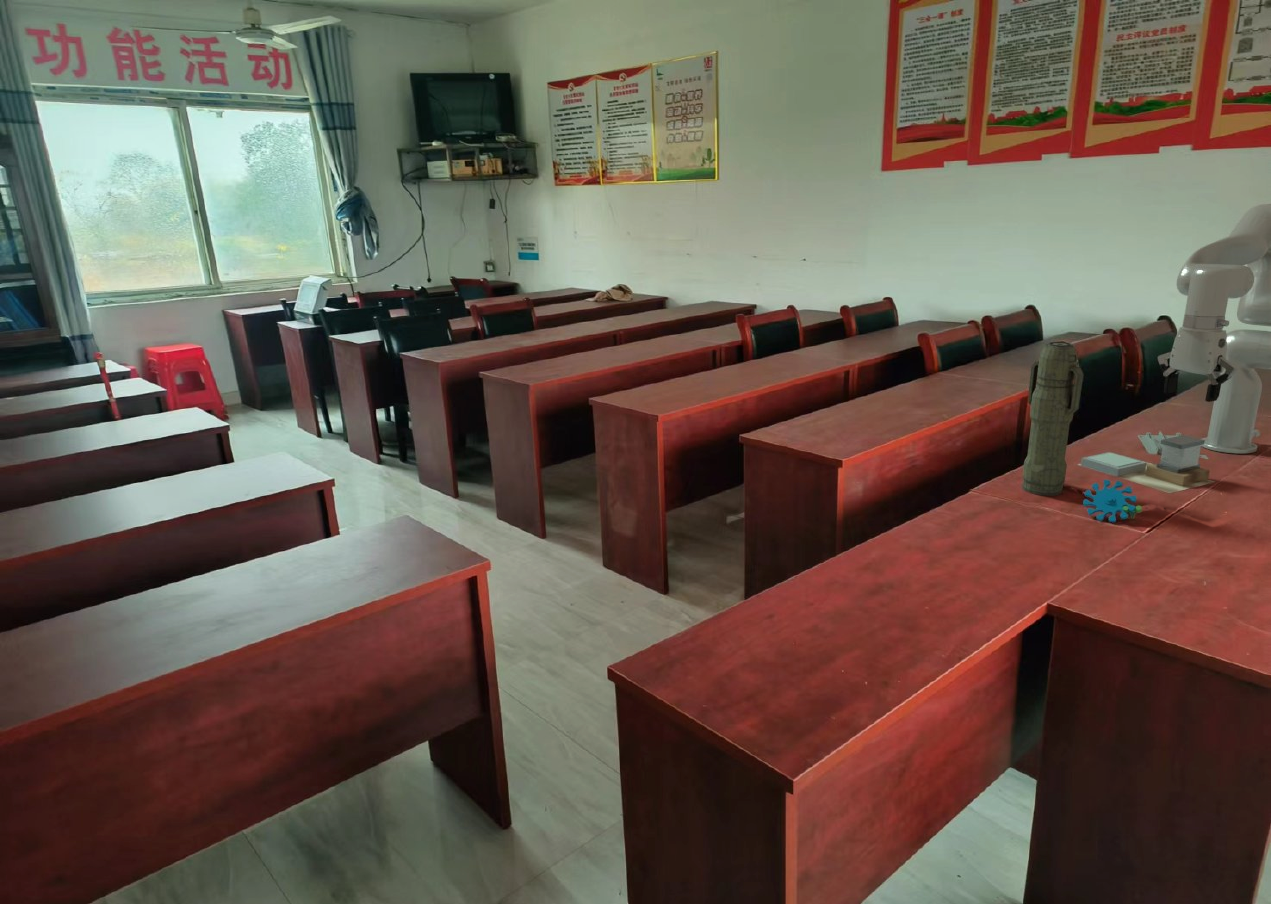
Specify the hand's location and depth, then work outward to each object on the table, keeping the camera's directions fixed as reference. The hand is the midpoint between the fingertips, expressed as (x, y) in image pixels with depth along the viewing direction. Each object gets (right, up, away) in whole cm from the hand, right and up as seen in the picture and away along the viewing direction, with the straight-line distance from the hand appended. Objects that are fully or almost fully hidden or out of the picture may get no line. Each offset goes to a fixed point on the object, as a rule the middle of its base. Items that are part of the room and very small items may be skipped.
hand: (1189, 396), depth 185 cm
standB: (-9, -17, +14) cm, 24 cm away
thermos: (-32, -22, +5) cm, 39 cm away
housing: (+1, -17, +5) cm, 17 cm away
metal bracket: (+12, -14, +26) cm, 32 cm away
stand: (+1, -19, +6) cm, 20 cm away
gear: (-26, -27, -13) cm, 40 cm away
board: (-4, -19, +10) cm, 22 cm away
